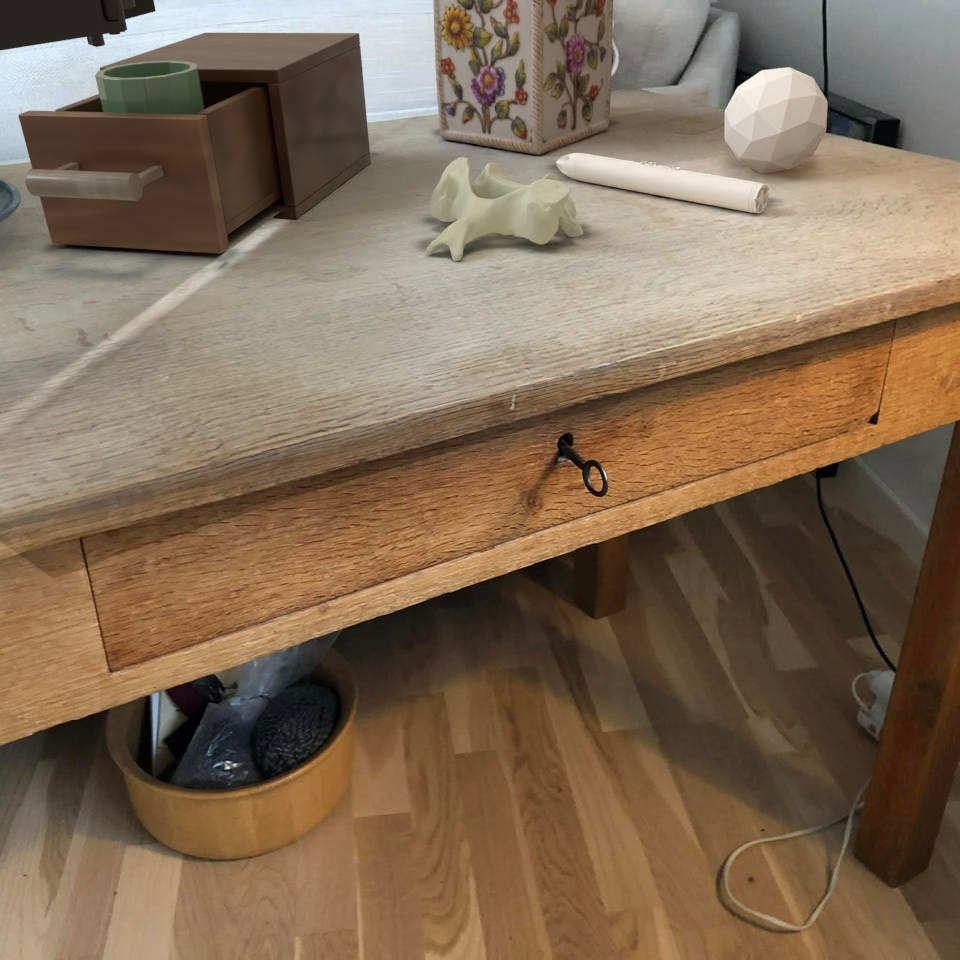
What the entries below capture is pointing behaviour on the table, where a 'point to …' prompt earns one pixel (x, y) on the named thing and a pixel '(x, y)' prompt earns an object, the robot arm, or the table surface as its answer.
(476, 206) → the spine bone
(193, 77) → the pen cup
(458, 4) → the decorative jar
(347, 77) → the cabinet
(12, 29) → the robot arm
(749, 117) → the geometric ball
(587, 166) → the marker
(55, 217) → the drawer
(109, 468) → the table surface
